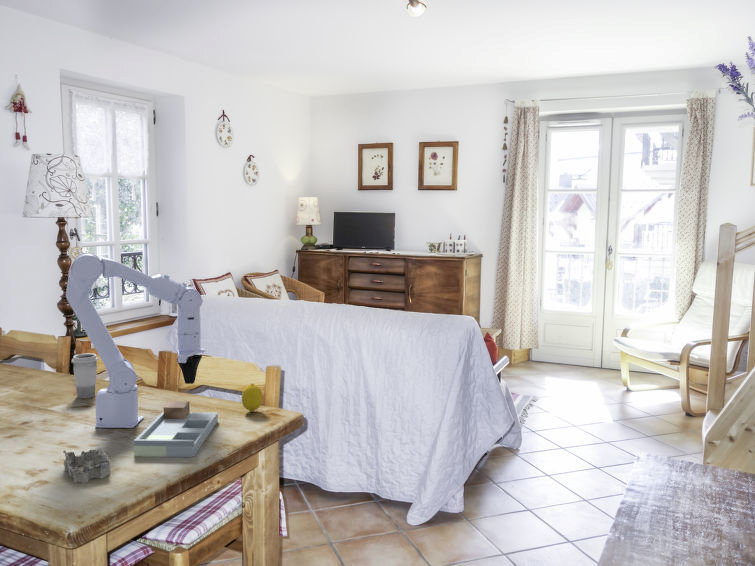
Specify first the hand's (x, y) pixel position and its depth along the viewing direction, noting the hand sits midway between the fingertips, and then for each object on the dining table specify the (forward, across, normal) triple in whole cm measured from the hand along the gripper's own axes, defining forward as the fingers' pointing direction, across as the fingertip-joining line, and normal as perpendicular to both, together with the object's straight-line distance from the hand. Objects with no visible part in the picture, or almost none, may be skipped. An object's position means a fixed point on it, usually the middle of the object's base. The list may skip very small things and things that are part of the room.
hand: (189, 383), depth 160 cm
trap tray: (+9, -16, -2) cm, 19 cm away
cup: (+9, +15, +34) cm, 38 cm away
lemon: (+9, +3, -16) cm, 19 cm away
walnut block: (+6, -8, +1) cm, 10 cm away
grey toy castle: (+9, -36, +11) cm, 39 cm away
